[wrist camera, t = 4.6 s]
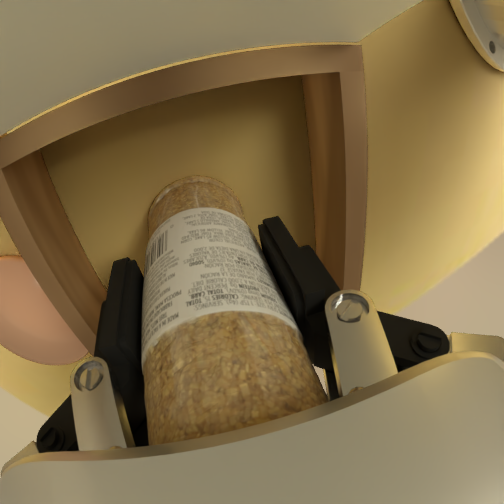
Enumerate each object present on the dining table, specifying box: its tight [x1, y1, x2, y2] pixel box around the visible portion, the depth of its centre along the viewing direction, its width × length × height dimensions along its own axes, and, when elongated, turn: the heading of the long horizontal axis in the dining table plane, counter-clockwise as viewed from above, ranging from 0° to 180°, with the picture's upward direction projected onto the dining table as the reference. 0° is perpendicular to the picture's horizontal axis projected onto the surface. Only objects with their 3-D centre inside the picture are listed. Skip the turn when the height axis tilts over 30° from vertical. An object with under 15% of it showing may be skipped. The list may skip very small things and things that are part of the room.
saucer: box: [0, 255, 89, 365], centre depth 15 cm, size 9×9×1 cm
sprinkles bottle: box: [141, 176, 329, 446], centre depth 9 cm, size 5×5×13 cm
